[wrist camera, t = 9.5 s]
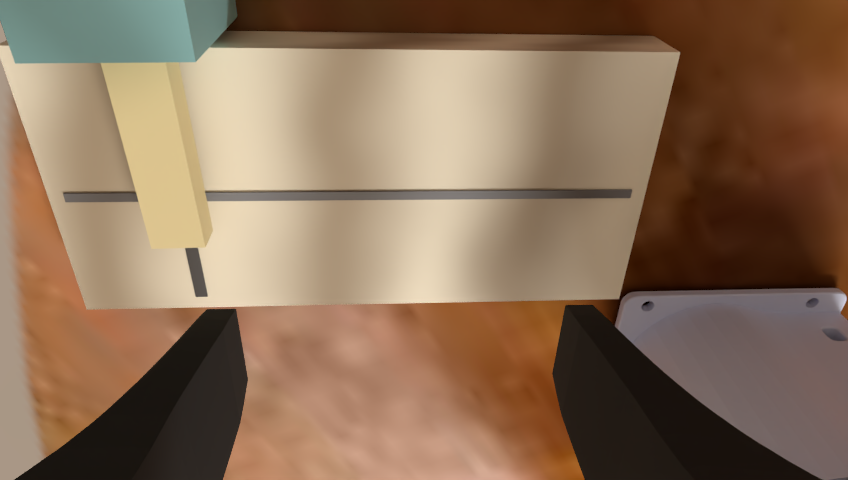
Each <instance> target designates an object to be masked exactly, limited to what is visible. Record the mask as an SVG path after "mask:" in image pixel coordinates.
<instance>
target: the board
mask: <svg viewBox="0 0 848 480" xmlns="http://www.w3.org/2000/svg"><path fill="white" fill-rule="evenodd" d="M679 56H680V52H679V51H678V50H676V49H674V48H673V47H671V46H669V45H668V44H666V43H664V42H663V41H661V40H660V39H658V38H656V37H655V36H624V35H540V34H456V33H372V32H288V31H224V32H223V33H222V34H221V35H220V36H219V37H218V38H217V40H216V41H215V42H214V43H213V44H212V45H211V46H210V47H209V48H208V49H207V50H206V52H205V53H204V54H203V55H202V56H201V57H200V58H199V59H198V60H197V61H196V62H179V66H180V71H181V76H182V81H183V86H184V91H185V96H186V100H187V105H188V110H189V115H190V120H191V125H192V130H193V135H194V140H195V144H196V149H197V154H198V159H199V164H200V169H201V174H202V179H203V184H204V188H205V193H206V198H207V203H208V208H209V213H210V218H211V223H212V228H213V232H212V234H211V236H210V239H209V241H208V243H207V245H206V247H204V248H167V249H151V245H150V242H149V238H148V234H147V231H146V227H145V223H144V220H143V216H142V212H141V209H140V205H139V202H138V198H137V194H136V191H135V187H134V183H133V180H132V176H131V172H130V169H129V165H128V161H127V158H126V154H125V150H124V147H123V143H122V139H121V136H120V132H119V128H118V125H117V121H116V117H115V114H114V110H113V106H112V103H111V99H110V95H109V92H108V88H107V84H106V81H105V77H104V73H103V70H102V66H101V63H27V64H15V62H14V59H13V56H12V53H11V50H10V47H9V44H8V42H7V41H5V42H2V43H0V59H1V62H2V65H3V67H4V70H5V73H6V76H7V79H8V82H9V85H10V88H11V91H12V94H13V96H14V99H15V102H16V105H17V108H18V111H19V114H20V117H21V120H22V123H23V126H24V128H25V131H26V134H27V137H28V140H29V143H30V146H31V149H32V152H33V155H34V157H35V160H36V163H37V166H38V169H39V172H40V175H41V178H42V181H43V184H44V186H45V189H46V192H47V195H48V198H49V201H50V204H51V207H52V210H53V213H54V216H55V218H56V221H57V224H58V227H59V230H60V233H61V236H62V239H63V242H64V245H65V247H66V250H67V253H68V256H69V259H70V262H71V265H72V268H73V271H74V274H75V277H76V279H77V282H78V285H79V288H80V291H81V294H82V297H83V300H84V303H85V306H86V308H87V309H135V308H186V307H237V306H288V305H339V304H390V303H441V302H492V301H543V300H594V299H619V297H620V293H621V289H622V285H623V281H624V277H625V273H626V269H627V265H628V261H629V257H630V253H631V249H632V245H633V241H634V237H635V233H636V229H637V225H638V221H639V217H640V213H641V209H642V205H643V201H644V197H645V193H646V189H647V185H648V181H649V177H650V173H651V169H652V165H653V161H654V157H655V153H656V149H657V145H658V141H659V137H660V133H661V129H662V125H663V121H664V117H665V113H666V109H667V105H668V101H669V97H670V93H671V89H672V85H673V80H674V76H675V72H676V68H677V64H678V60H679Z"/></svg>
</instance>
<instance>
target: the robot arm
mask: <svg viewBox="0 0 848 480" xmlns="http://www.w3.org/2000/svg"><path fill="white" fill-rule="evenodd" d="M810 299H811V300H810ZM846 299H847V297H846V294H844V293H843V292H842V291H841V290H840V289H839V288H797V289H744V290H690V291H637V292H630V293H628V294H626V295H625V296H624V297H623V298H622V300H621V303H620V307H619V311H618V315H617V319H616V323H615V326H614V325H613V324H612V323H611V322H610V321H609V320H608V319H607V318H606V317H605V316H604V315H603V314H602V313H601V312H600V311H599V310H597V309H596V308H595V307H594V306H593V305H566V306H565V311H564V316H563V321H562V327H561V332H560V337H559V342H558V347H557V353H556V358H555V363H554V368H553V378H554V383H555V388H556V393H557V397H558V402H559V406H560V410H561V414H562V417H563V420H564V423H565V426H566V429H567V432H568V434H569V437H570V440H571V443H572V446H573V448H574V451H575V454H576V457H577V459H578V462H579V465H580V468H581V470H582V473H583V476H584V478H585V480H848V320H847V319H846V318H845V317H843V316H842V315H841V314H840V312H841V310H842V308H843V306H844V304H845V302H846ZM808 300H809V301H808ZM648 301H650V302H649V303H648V304H647V305H643V304H644V303H645V302H648ZM247 381H248V377H247V371H246V366H245V360H244V354H243V348H242V342H241V336H240V330H239V324H238V319H237V313H236V309H207V310H206V311H205V312H204V313H203V314H202V315H201V316H200V317H199V318H198V319H197V320H196V321H195V322H194V323H193V324H192V326H191V327H190V328H189V329H188V330H187V331H186V332H185V333H184V334H183V335H182V336H181V337H180V339H179V340H178V341H177V342H176V343H175V344H174V345H173V346H172V347H171V348H170V349H169V350H168V351H167V352H166V354H165V355H164V356H163V357H162V358H161V359H160V360H159V361H158V362H157V363H156V364H155V365H154V366H153V367H152V368H151V369H150V370H149V371H148V372H147V373H146V374H145V375H144V376H143V377H142V378H141V379H140V380H139V381H138V382H137V383H136V384H135V385H134V386H133V387H131V388H130V389H129V390H128V391H127V392H126V393H125V394H124V395H123V396H122V397H121V398H120V399H119V400H117V401H116V402H115V403H114V404H113V405H112V406H111V407H110V408H109V409H108V410H107V411H105V412H104V413H103V414H102V415H101V416H100V417H98V418H97V419H96V420H95V421H94V422H93V423H91V424H90V425H89V426H88V427H86V428H85V429H84V430H83V431H81V432H80V433H79V434H77V435H76V436H75V437H74V438H72V439H71V440H70V441H69V442H67V443H66V444H65V445H63V446H62V447H61V448H59V449H58V450H56V451H55V452H54V453H52V454H51V455H49V456H48V457H46V458H45V459H43V460H42V461H41V462H39V463H38V464H36V465H35V466H33V467H32V468H31V469H29V470H28V471H26V472H25V473H24V474H22V475H21V476H19V477H18V478H16V479H15V480H223V477H224V474H225V471H226V467H227V464H228V461H229V458H230V455H231V451H232V448H233V445H234V441H235V438H236V435H237V432H238V428H239V425H240V421H241V416H242V410H243V405H244V399H245V393H246V387H247Z"/></svg>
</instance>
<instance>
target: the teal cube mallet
mask: <svg viewBox="0 0 848 480" xmlns="http://www.w3.org/2000/svg"><path fill="white" fill-rule="evenodd" d="M237 17H238V16H237V9H236V2H235V0H0V21H1V24H2V27H3V30H4V33H5V36H6V39H7V42H8V44H9V47H10V50H11V53H12V56H13V59H14V62H15V64H27V63H101V66H102V70H103V73H104V77H105V81H106V84H107V88H108V92H109V95H110V99H111V103H112V106H113V110H114V114H115V117H116V121H117V125H118V128H119V132H120V136H121V139H122V143H123V147H124V150H125V154H126V158H127V161H128V165H129V169H130V172H131V176H132V180H133V183H134V187H135V191H136V194H137V198H138V202H139V205H140V209H141V212H142V216H143V220H144V223H145V227H146V231H147V234H148V238H149V242H150V245H151V249H167V248H204V247H206V245H207V243H208V241H209V239H210V236H211V234H212V232H213V228H212V223H211V218H210V213H209V208H208V203H207V198H206V193H205V188H204V184H203V179H202V174H201V169H200V164H199V159H198V154H197V149H196V144H195V140H194V135H193V130H192V125H191V120H190V115H189V110H188V105H187V100H186V96H185V91H184V86H183V81H182V76H181V71H180V66H179V62H196V61H197V60H198V59H199V58H200V57H201V56H202V55H203V54H204V53H205V52H206V50H207V49H208V48H209V47H210V46H211V45H212V44H213V43H214V42H215V41H216V40H217V38H218V37H219V36H220V35H221V34H222V33H223V32H224V31H225V30H226V29H227V28H228V26H229V25H230V24H231V23H232V22H233V21H234V20H235V19H236V18H237Z"/></svg>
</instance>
